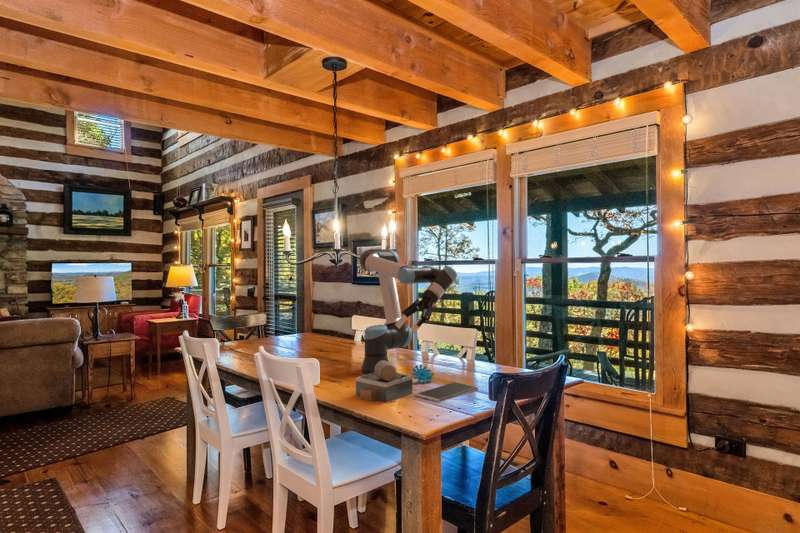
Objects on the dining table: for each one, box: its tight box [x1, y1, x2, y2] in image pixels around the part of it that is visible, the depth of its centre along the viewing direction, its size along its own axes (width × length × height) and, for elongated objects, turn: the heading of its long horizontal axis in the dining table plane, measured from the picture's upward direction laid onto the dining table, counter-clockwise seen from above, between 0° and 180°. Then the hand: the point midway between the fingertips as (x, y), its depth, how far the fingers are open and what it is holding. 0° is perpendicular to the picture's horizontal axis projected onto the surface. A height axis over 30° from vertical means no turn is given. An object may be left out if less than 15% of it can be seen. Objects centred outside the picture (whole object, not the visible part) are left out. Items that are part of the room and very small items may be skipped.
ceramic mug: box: [374, 360, 401, 381], centre depth 201 cm, size 11×8×8 cm
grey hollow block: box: [355, 372, 413, 403], centre depth 199 cm, size 17×20×8 cm
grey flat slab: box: [414, 381, 479, 403], centre depth 201 cm, size 13×27×2 cm, turn 134°
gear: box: [411, 364, 435, 385], centre depth 221 cm, size 11×6×10 cm
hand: (404, 329), depth 211 cm, fingers open, 13 cm apart
